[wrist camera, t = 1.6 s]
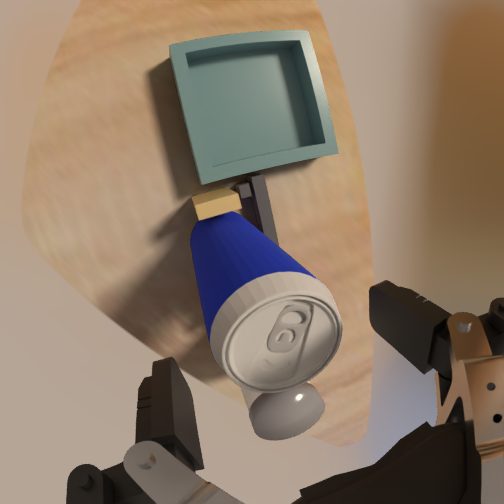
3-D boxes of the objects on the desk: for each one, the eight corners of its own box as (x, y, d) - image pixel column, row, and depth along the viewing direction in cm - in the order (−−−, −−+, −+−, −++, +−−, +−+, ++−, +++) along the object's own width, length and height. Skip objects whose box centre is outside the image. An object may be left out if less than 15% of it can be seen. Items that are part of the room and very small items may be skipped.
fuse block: (190, 191, 22) (193, 199, 17) (258, 173, 22) (279, 176, 18) (240, 356, 28) (253, 389, 23) (292, 337, 28) (312, 366, 24)
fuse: (214, 310, 25) (245, 411, 14) (263, 294, 26) (322, 382, 15) (227, 348, 27) (262, 447, 16) (272, 333, 28) (326, 423, 16)
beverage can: (242, 273, 25) (317, 397, 11) (183, 262, 23) (200, 396, 9) (258, 216, 24) (368, 293, 10) (198, 202, 22) (236, 269, 8)
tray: (169, 57, 18) (169, 45, 15) (295, 40, 19) (307, 30, 17) (199, 182, 22) (202, 184, 19) (323, 153, 23) (338, 153, 21)
